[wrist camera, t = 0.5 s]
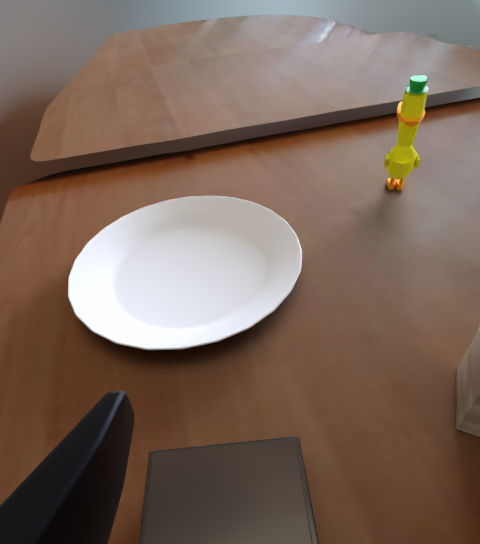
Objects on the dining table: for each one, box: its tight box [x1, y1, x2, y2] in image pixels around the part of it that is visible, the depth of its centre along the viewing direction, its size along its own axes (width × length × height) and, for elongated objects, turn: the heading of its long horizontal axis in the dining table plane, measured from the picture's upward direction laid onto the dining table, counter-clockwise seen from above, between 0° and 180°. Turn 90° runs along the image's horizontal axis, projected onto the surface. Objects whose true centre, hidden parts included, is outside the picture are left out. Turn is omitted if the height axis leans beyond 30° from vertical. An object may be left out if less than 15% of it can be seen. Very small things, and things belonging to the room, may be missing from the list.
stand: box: [139, 436, 319, 544], centre depth 18 cm, size 8×8×4 cm
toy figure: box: [384, 75, 428, 190], centre depth 41 cm, size 7×4×12 cm, turn 166°
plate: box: [68, 196, 302, 350], centre depth 35 cm, size 21×21×2 cm
